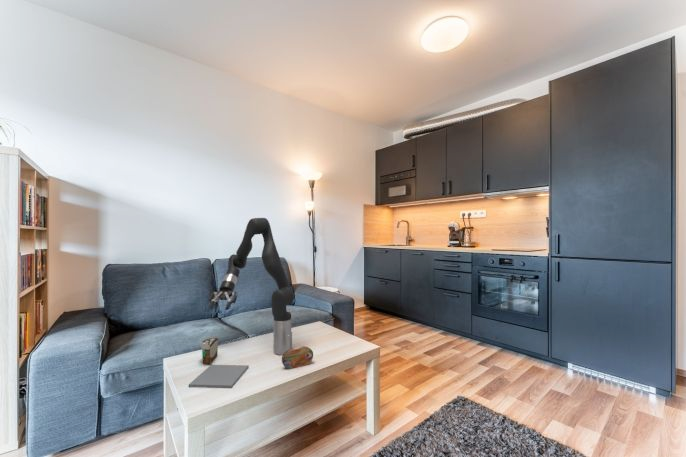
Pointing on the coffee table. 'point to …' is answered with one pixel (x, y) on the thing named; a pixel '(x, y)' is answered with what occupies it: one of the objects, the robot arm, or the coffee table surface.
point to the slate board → (219, 376)
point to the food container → (209, 350)
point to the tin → (297, 357)
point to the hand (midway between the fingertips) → (218, 309)
